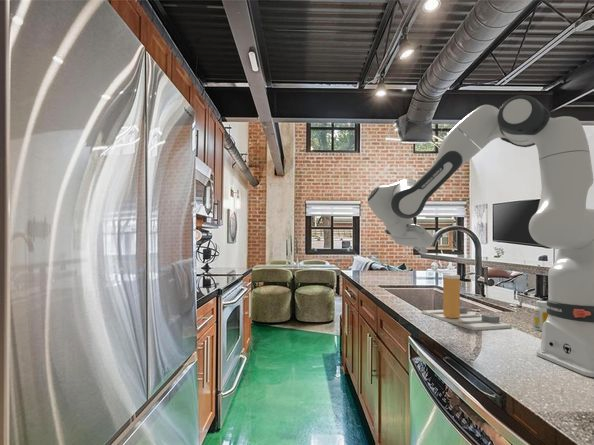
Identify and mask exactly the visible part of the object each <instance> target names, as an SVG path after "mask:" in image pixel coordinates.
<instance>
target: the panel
mask: <svg viewBox="0 0 594 445" xmlns="http://www.w3.org/2000/svg"><path fill="white" fill-rule="evenodd" d="M423 313H424V315H426V314H427V316H429V315H430V317H432V316H433V318H436V319H438V320H441V321H444V322H447V323H449V324H453V325H456V326H458V327H461V328H465V329H467V330H470V331H485V330H501V329H511V328H512V325H511V324H509V323H505V322H501V321H500V316H498V315H494V314H481V315H479V314H473V313H470V312H468V308H467V307H464V306H461V305H460V318H449V317H445V316H443V309H430V310H429V309H427V310H421V314H423Z"/></svg>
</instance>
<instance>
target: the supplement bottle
mask: <svg viewBox="0 0 594 445" xmlns="http://www.w3.org/2000/svg"><path fill="white" fill-rule="evenodd" d="M535 304H536V305H535V307H534V308H533V327H534V330H535V331H538V332H542V327H543V323H544V322H545V321H546V319H547V317H548V313H547V308H546V304H547V300H536V302H535Z"/></svg>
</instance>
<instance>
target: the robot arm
mask: <svg viewBox="0 0 594 445" xmlns="http://www.w3.org/2000/svg"><path fill="white" fill-rule="evenodd" d="M498 138H499V139H500V140H501V141H504V142H506V143H509V144H511V145H514V146H516V147H521V148H529V147H533V146H536V149H537V152H538V154H537V155H538V161H539V162H538V163H539V164H538V165H539V171H540V181H541V190H540V192H541V193H540V199H539V203H538V207H537V209H536V212H535V213H534V214H533V215H532V216H531V218H530V220H529V223H528V232H529V235H530V237H531V238H532V240H534V242H536V243H538V244H539V245H542V246H544V247H548V248H550V249H553V250H554V249H555V250H558V252H557V255H556V258H555V261H554V262H553V264H552V266H551V267H549V269H548V272H547V283H548V284H547V286H548V287H547V288H548V289H547V290H548V292H547V293H548V294H547V295H548V299H546V301H547V304H546V308H547V313H548V317H547V319H546V321H545V322H544V323H543V327H542V331H541V341H540V349H538V350H536V354H535V355H536V356H538V357H539V358H542V359H545V360H547V361H550V362H552V363H554V364H557V365H559V366H561V367H564V368H566V369H569V370H571V371H574V372H576V373H578V374H581V375H583V376H586V377H591V378H594V209H593V208H587V197H588V194H589V191H590V188H591V187H592V186H593V184H594V174H593V173H594V172H593V166H592V157H591V151H590V147H589V146H590V145H589V141H588V138H587V135H586V132H585V129H584V127H583V124H582V122H581V121H580V119H578V118H576V117H573V116H570V115H569V116H564V115H563V116H558V117H557V116H556V117H551V111H549V110H548V109H547V108H546V107H545V106H544V105H543V104H542V103H541V102H540V101H539V100H538V99H537V98H534V97H532V96H530V95H526V94H525V95H524V94H519V95H515V96H513V97H512V96H511V97H510V98H508V99H507V100H506V101H504V102H503V103H502V105H501V106H500V107H499V109H498V107H496V106H495V105H491V104H483V105H480V106H478V107H477V108H476V109H474V110H473V111H471V112H470V113H468V114H467V115H466V116H465V117H463V118H462V119H461V120H460V121H459V122H458V123H457V124H456V125H454V126H453V127H452V129H450V130H449V131H448V132H447V134H446V135H445V136H444V138H443V139H442V140H441V141H440V144H439V149H438V152H437V156H436V158H435V160H434V162H433V163H432V165H431V166H430V167H429V168H428V170H426V171H425V173H423V174H422V175H421V177H419V178H418V180H414V179H412V178H404V179H401V180H400V181H397V182H395V183H391V184H389V185H387V184H386V185H378V186H376V187H375V188H374V189H373V190H372V192H371V193H370V194H369V196H368V198H367V205H368V207H369V208H370V210H371V212H373V214H374V215H375V216H376V217H377V219H379V220H380V221H382V223H383V224H384V227H385V229H384V233H385V234H386V235H389V238H391V239H392V240H393V241H394V242H395V244H398V245H399V246H403V247H412V248H413V249H414V250H416V251H417V252H418V253H419V254H424V255H425V254H427V253H428V251H429V250H428V249H427V248H429V247H431V245H432V244H433V243H434V242H435V239H434V237H433V235H432V234H430V233H429V232H428V231H427V229H426V228H425V227H424V226H422V225H419V224H415V223H414V220H413V218H415V217H417V216H419V215H421V213H422V212H423V210H424V208H425V205H426V203H427V201H428V200H429V199H430V198H431V196H432V195H434V193H435V192H437V191H438V189H439V188H440V187H442V185H443V184H445V183H446V182H447V181H448V180H449V179H450V177H452V176H453V174H454V173H456V171H457V172H458V170H459V169H460V168H461V167H462V166H463V165H465V164H467V162H469V161H470V160H471V159H472V158H474V157H475V156H476V155H477V154H478V153H479V152H480V151H481V150H483V149H484V148H485V147H487V145H488V144H489V143H490V142H492V141H493V140H495V139H498Z"/></svg>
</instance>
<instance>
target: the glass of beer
mask: <svg viewBox="0 0 594 445" xmlns="http://www.w3.org/2000/svg"><path fill="white" fill-rule="evenodd" d="M442 278H443V279H442V280H443V282H442V287H443V288H442V290H443V292H442V295H443V297H442V298H443V299H442V304H443V306H442V307H443V308H442V310H443V316H445V317H449V318H460V306H461V304H460V303H461V301H460V300H461V299H460V298H461V295H460V292H461V289H460V288H461V287H460V286H461V283H460V281H461V280H460V279H461V275H460V274H452V273H449V274H448V273H447V274H443V273H442Z"/></svg>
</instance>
